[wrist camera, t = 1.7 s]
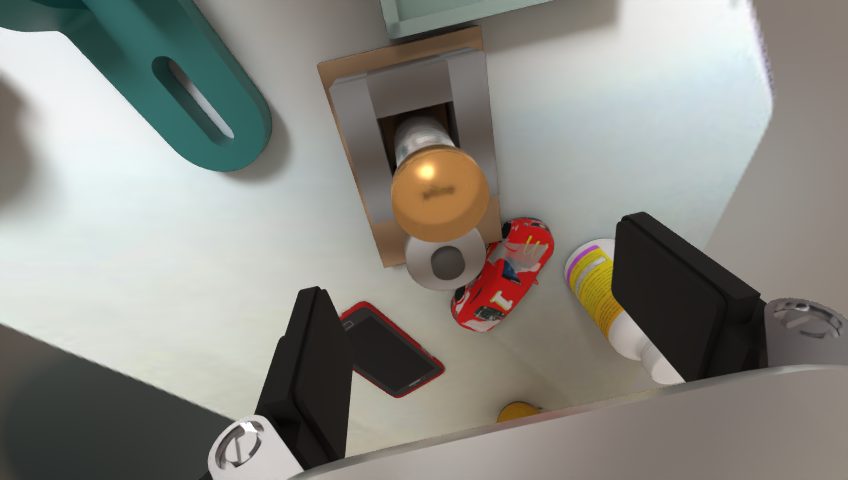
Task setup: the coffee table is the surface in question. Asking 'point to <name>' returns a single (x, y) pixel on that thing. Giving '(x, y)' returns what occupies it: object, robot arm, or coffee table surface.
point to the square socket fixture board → (374, 145)
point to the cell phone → (387, 352)
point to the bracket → (161, 70)
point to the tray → (440, 13)
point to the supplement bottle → (613, 308)
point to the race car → (504, 275)
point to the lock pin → (434, 180)
